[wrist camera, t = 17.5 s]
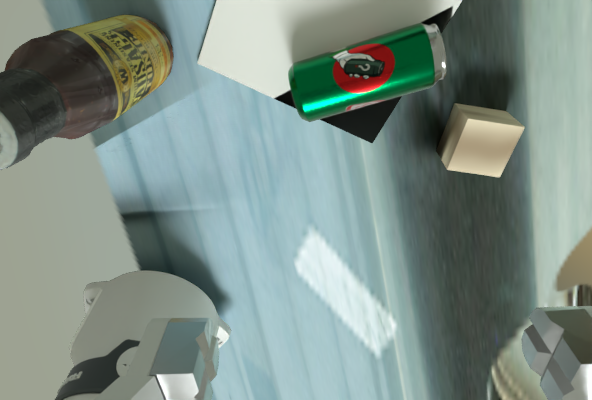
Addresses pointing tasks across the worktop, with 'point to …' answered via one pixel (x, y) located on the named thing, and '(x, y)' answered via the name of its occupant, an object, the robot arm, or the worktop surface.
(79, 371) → the robot arm
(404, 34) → the soda can
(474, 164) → the birch block
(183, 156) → the worktop surface
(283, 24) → the mat
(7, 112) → the sauce bottle
